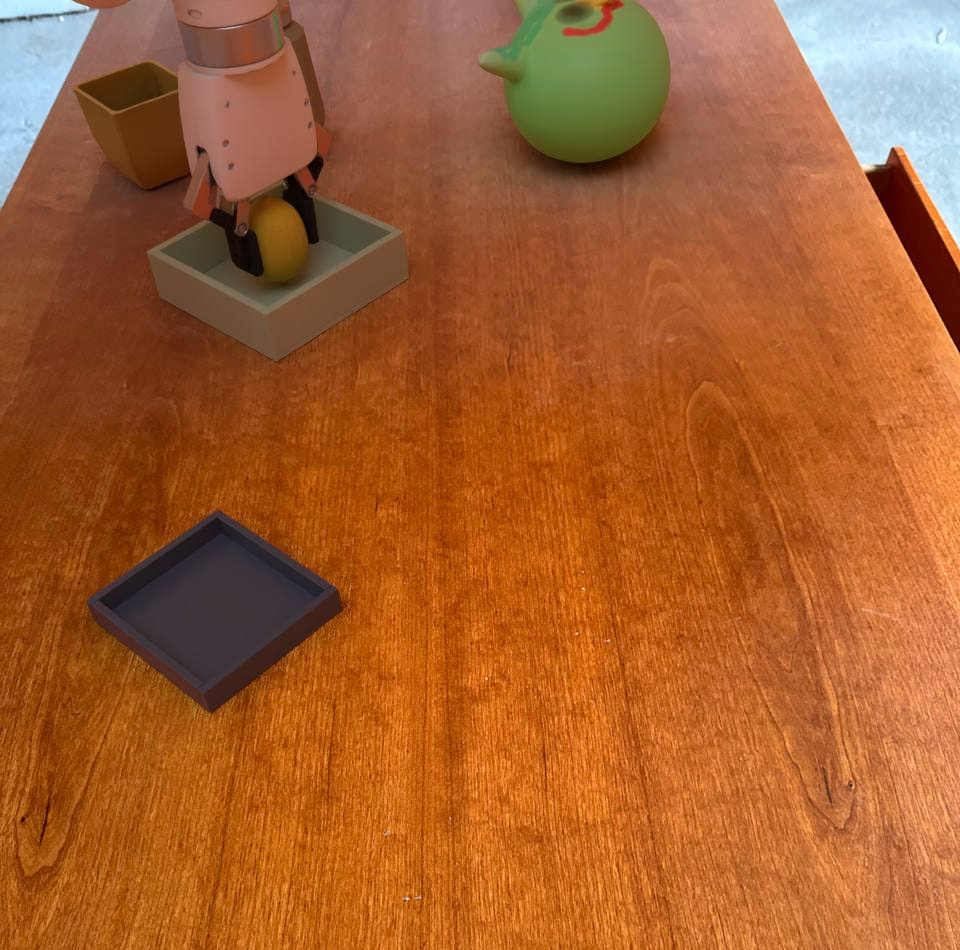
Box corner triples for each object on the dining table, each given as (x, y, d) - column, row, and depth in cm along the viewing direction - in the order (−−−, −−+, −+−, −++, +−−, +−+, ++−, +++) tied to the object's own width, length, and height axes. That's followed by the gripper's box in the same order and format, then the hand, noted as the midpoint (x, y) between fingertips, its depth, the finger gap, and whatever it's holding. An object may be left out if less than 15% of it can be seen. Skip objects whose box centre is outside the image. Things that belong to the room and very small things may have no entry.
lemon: (327, 274, 104) (312, 188, 98) (289, 306, 101) (271, 219, 95) (277, 259, 106) (259, 174, 100) (238, 291, 103) (218, 205, 97)
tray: (94, 620, 78) (85, 600, 77) (224, 529, 83) (218, 508, 82) (211, 714, 72) (203, 693, 71) (343, 609, 77) (338, 588, 76)
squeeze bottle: (280, 182, 116) (242, -15, 103) (236, 154, 120) (195, -38, 107) (346, 153, 119) (318, -41, 106) (302, 127, 124) (269, -63, 110)
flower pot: (173, 145, 123) (150, 56, 116) (217, 174, 118) (195, 83, 111) (98, 175, 119) (69, 85, 112) (139, 206, 114) (112, 114, 108)
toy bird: (660, 195, 110) (670, 31, 99) (482, 191, 113) (473, 30, 102) (670, 107, 122) (680, -49, 111) (508, 105, 124) (503, -48, 113)
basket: (159, 297, 104) (145, 251, 100) (291, 223, 111) (282, 177, 107) (276, 362, 96) (265, 314, 93) (409, 277, 103) (404, 230, 100)
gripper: (285, -15, 93) (321, 200, 107) (108, 63, 85) (171, 284, 99) (350, 6, 90) (379, 226, 103) (172, 89, 82) (228, 315, 95)
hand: (277, 252), depth 101 cm, fingers closed on lemon, 5 cm apart
